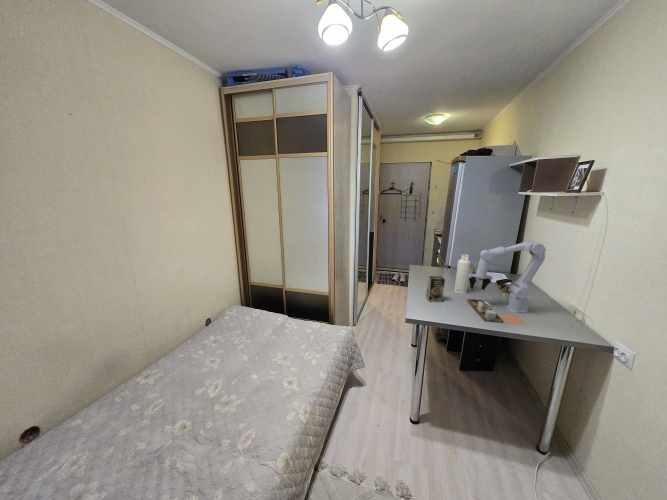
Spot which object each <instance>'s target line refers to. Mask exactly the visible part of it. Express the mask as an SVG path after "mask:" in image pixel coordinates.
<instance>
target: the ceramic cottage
mask: <svg viewBox="0 0 667 500" xmlns="http://www.w3.org/2000/svg"><path fill="white" fill-rule="evenodd" d="M470 262H471V265H470V271H469V274H476V271H477V268H475V267H474V265H473V263H472V261H470ZM475 279H476V280H477V281H476V282H475V283H482V282H483V279H480V278H475ZM468 283H470V281H469V278H468Z"/></svg>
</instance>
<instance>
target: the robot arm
mask: <svg viewBox="0 0 667 500" xmlns="http://www.w3.org/2000/svg"><path fill="white" fill-rule="evenodd" d="M519 251H523V252H524V251H525V252H528V253H529V255H530V257H531V259H530V260H529V263H528V264H527V265H526V267H525V269H524V270H523V272H522V274H521V275H520V277H519V279H518V280H515V281H514V283H513V284H511V285H509V286H510V287H508V288H509V292H510V293H509V299H508V305H505V307H506V308H507V309H508V310H509V311H511V312H516V313H524V314H528V308H529V303H530V301H529V298H528V297H527V296H528V293H529V292H528V291H529V289H530V288H529V285H530V283H531V281H532V280H533V278H534V276H535V275H536V273H537V272H538V271H539V269H540V268H541V266H542V265H543V263H544V261H545V259H546V251H547V249H546V247H545V245H544V244H542V243H540V242H537V241H535V240H528V241H523V242H520V243H517V244H514V245H510V246H507V247H504V246H500V245H499V246H496V247H495V248H492V249H491V248H488V249H484V250H482V251H481V252H480V253H479V257H480V258H479V262H478V264H477V268H476V269H477V271H476V274H469V276H468V277H469V281H470V282H469V288H470V289H471V290H473V289H474V287H475V283H477V282H476V281H477V280H476V279H475V278H480V279H483V282H481V283H482V285H481V288H480V289H481V290H483V291H485V289H486V288H487V286H489V284H490V283H491V282H492V280H493V276H491V275H488V271H489V268H490V263H491V261H492V260H493V259H497V258H500V257H504V256H506V255H507V254H509V253H514V252H519Z"/></svg>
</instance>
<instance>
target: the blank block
mask: <svg viewBox="0 0 667 500" xmlns="http://www.w3.org/2000/svg"><path fill="white" fill-rule="evenodd" d="M496 314H497V312H496V311H494V310H493V309H492V310H486V311H485V317H486V318H487V319H495V318H496Z"/></svg>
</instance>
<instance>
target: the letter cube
mask: <svg viewBox="0 0 667 500" xmlns="http://www.w3.org/2000/svg"><path fill="white" fill-rule="evenodd" d="M491 306H492V305H491V304H490V303H489V301H484V302H481V301H478V307H477V309H478V310H479V311H482V312H485V311H486V310H490V308H492V307H491Z"/></svg>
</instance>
